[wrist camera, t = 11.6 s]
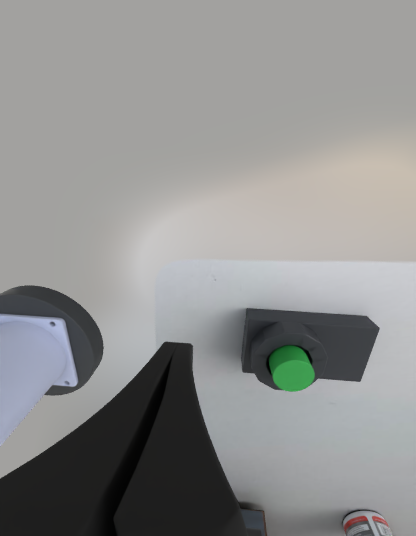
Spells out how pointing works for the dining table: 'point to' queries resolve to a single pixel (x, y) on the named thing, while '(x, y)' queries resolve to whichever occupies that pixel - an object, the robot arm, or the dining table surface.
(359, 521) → the pill bottle
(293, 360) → the button
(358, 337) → the control block
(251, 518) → the drawer
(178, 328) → the dining table surface
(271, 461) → the dining table surface
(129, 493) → the robot arm
